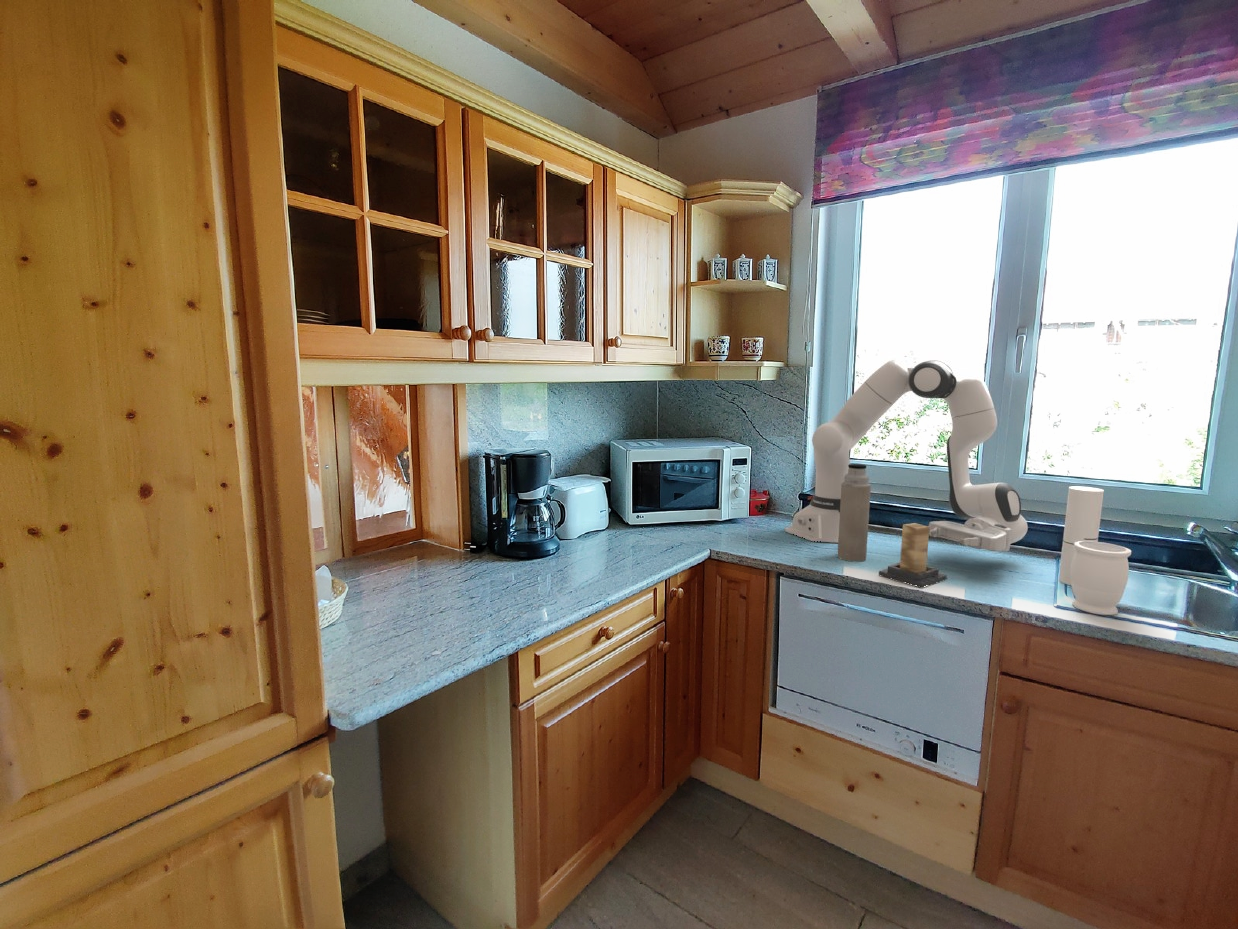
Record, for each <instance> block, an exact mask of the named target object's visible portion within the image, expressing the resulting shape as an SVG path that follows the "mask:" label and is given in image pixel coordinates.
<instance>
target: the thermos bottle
mask: <svg viewBox="0 0 1238 929" xmlns="http://www.w3.org/2000/svg"><path fill="white" fill-rule="evenodd" d="M848 467H849V469H848V474H846V475H845V478H844V482H842V486H841V503H840V520H839V537H838V543H837V558H838V559H840V558H841V559H840V560H842V559H843V561H846V562H853V561H860V562H864V561H866V560H867V552H868V536H869V522H870V519H869V518H870V505H871V490H872V489H871V488H872V487H871V486H872V484H871V483H869V481H870V478H869V476H868V475H867V470H866V469H867V464H866V465H865V464H861V463H850V464H849V465H848Z"/></svg>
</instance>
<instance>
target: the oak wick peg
mask: <svg viewBox="0 0 1238 929" xmlns="http://www.w3.org/2000/svg"><path fill="white" fill-rule="evenodd" d="M901 532H902V533H901V545H900V546H901V548H900V560H899V563H900V568H901V569H904V570H908V571H911V572H915V573H922V572H925V571H926V566H927V562H928V550H929V537H930V536H929V525H924V524H920V523H917V522H913V523H912V522H911V523H906V524H902V531H901Z"/></svg>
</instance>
